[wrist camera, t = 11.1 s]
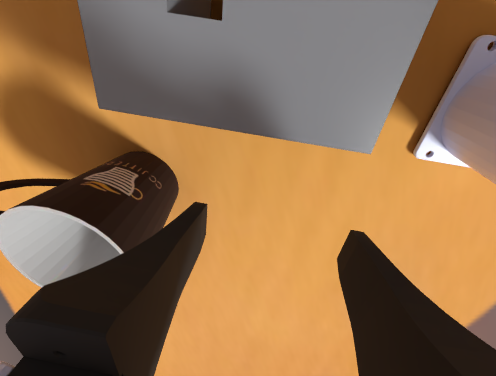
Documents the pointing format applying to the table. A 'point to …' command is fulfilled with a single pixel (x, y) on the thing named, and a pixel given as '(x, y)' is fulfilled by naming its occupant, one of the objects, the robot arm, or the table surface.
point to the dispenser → (257, 63)
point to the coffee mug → (87, 217)
